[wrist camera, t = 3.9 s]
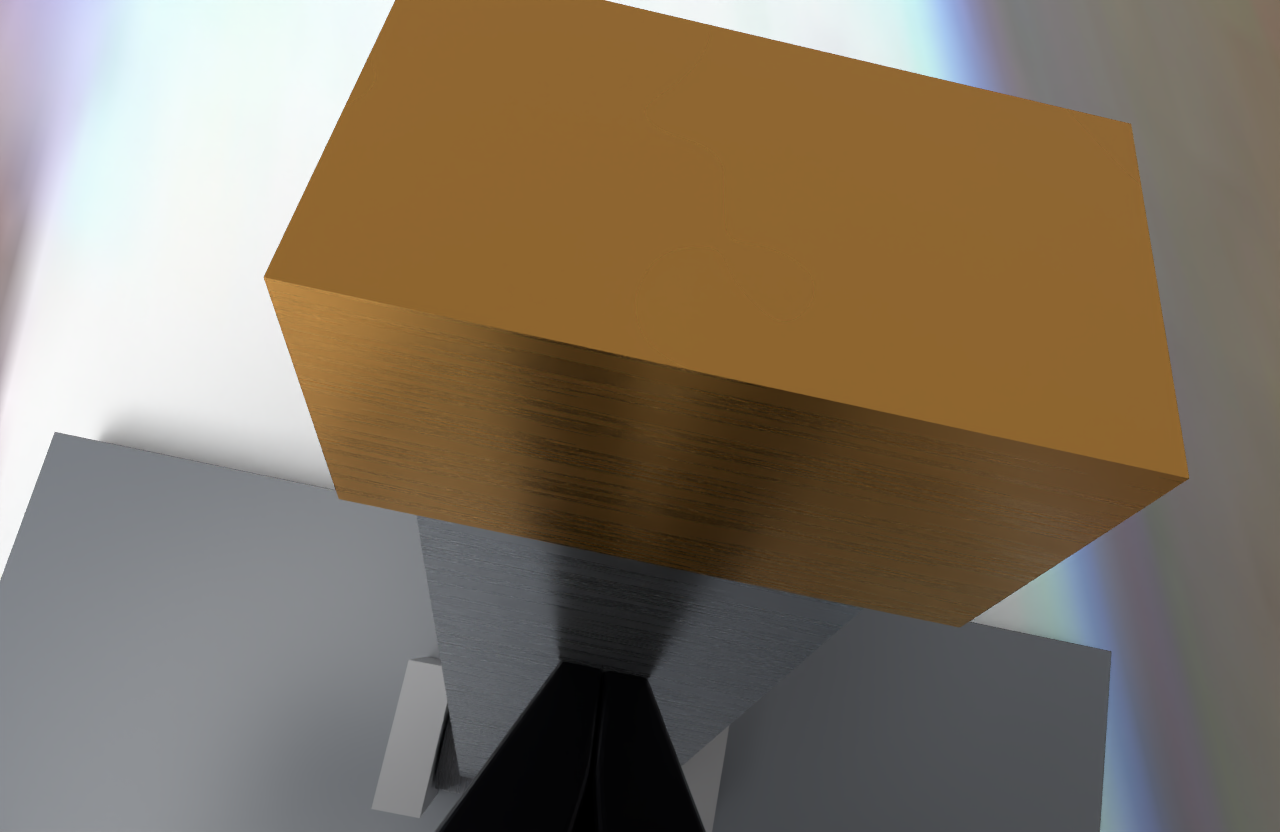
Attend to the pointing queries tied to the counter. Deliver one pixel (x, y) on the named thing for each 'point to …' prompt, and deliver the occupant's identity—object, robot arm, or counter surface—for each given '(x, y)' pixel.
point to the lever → (713, 346)
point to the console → (442, 681)
